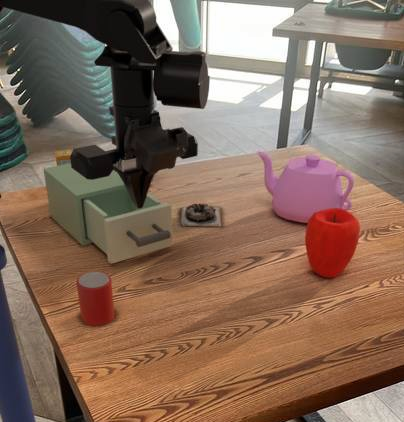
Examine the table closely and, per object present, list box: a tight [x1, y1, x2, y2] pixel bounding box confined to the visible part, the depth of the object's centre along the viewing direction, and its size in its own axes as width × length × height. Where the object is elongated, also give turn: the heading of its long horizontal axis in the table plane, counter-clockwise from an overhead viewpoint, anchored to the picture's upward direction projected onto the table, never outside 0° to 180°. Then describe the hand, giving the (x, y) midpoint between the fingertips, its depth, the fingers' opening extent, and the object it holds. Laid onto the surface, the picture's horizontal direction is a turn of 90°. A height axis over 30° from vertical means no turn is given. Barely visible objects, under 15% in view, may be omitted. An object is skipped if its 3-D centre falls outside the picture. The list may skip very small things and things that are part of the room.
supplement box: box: [54, 149, 72, 166], centre depth 116 cm, size 3×3×10 cm
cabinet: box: [42, 163, 126, 247], centre depth 109 cm, size 15×14×10 cm
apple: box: [304, 208, 361, 279], centre depth 96 cm, size 9×9×11 cm
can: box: [75, 271, 115, 327], centre depth 85 cm, size 5×5×6 cm
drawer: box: [81, 188, 173, 265], centre depth 101 cm, size 18×12×8 cm
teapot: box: [256, 150, 355, 224], centre depth 113 cm, size 20×13×12 cm, turn 72°
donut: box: [180, 202, 222, 227], centre depth 114 cm, size 8×8×2 cm
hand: (138, 207), depth 90 cm, fingers closed
